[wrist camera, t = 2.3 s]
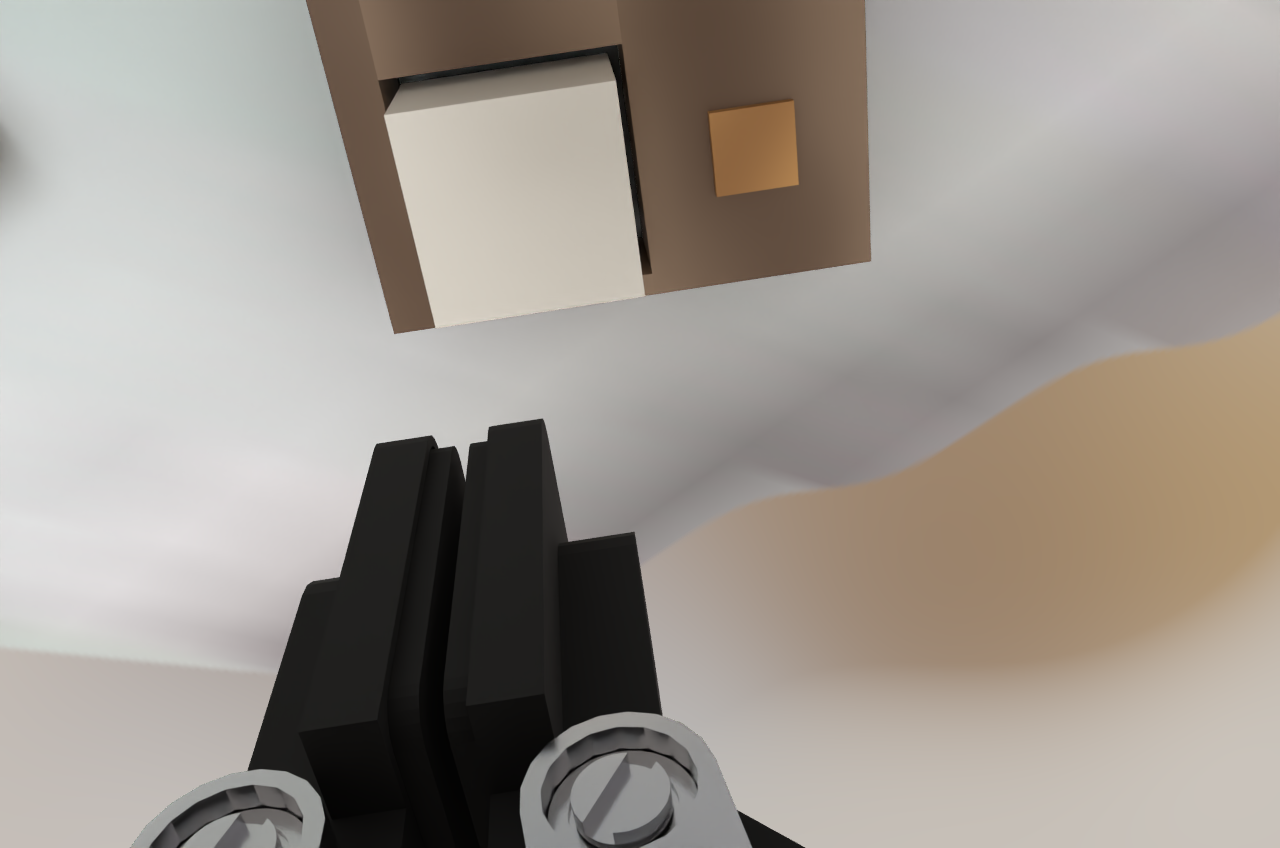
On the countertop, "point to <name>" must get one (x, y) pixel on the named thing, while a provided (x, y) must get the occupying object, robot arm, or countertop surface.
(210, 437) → the countertop surface
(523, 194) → the end button
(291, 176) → the countertop surface
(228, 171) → the countertop surface
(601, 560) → the robot arm
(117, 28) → the countertop surface
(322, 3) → the button board
